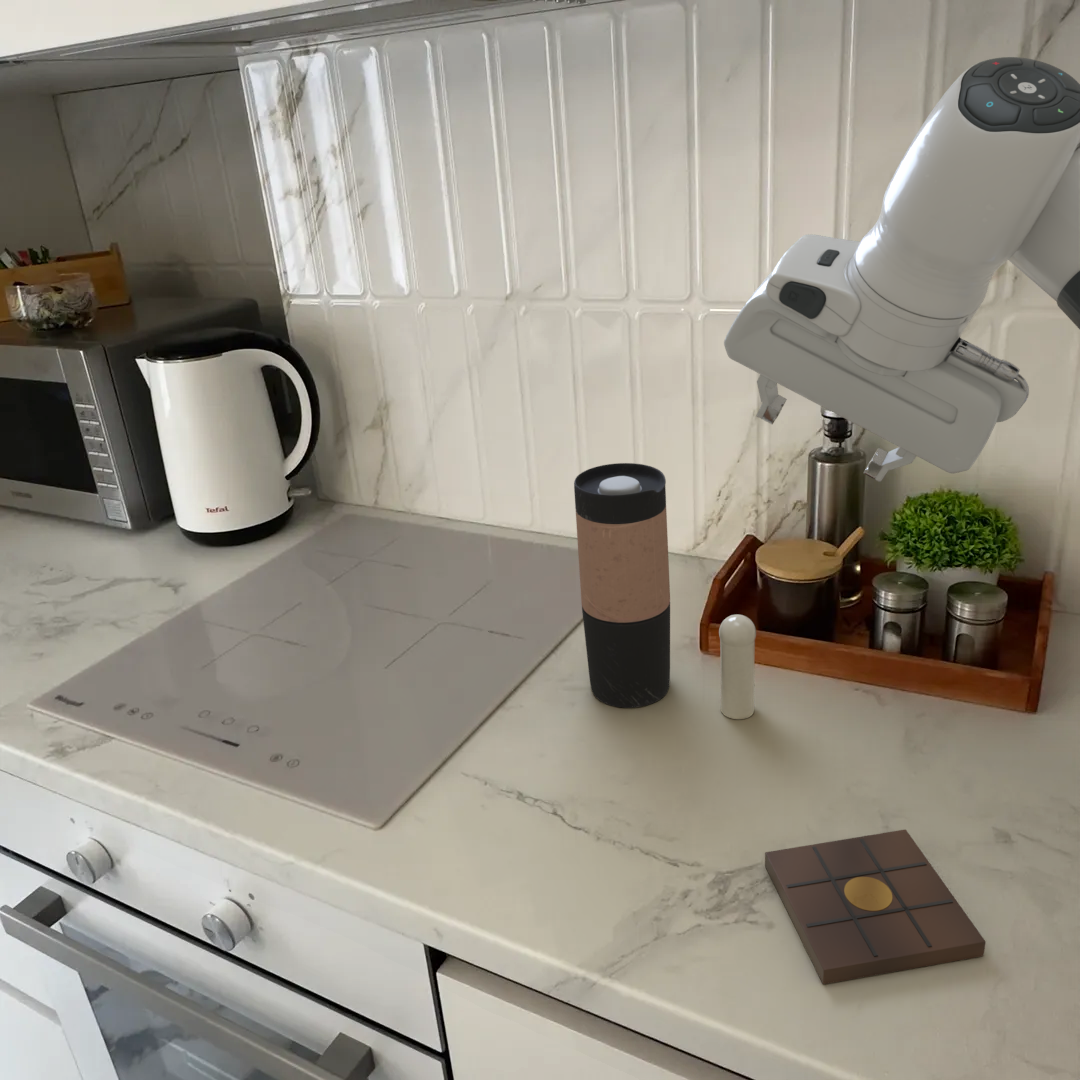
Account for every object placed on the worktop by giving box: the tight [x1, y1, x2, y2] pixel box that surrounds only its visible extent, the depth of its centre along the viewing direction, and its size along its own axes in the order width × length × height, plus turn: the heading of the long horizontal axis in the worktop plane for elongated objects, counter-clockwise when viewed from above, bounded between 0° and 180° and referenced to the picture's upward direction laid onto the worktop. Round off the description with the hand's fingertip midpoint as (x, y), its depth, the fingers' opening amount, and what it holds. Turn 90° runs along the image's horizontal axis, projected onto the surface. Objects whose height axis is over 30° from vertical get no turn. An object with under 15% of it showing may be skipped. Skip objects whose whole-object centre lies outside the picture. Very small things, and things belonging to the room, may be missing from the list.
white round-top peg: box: [718, 613, 757, 720], centre depth 81 cm, size 3×3×9 cm
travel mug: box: [573, 462, 671, 709], centre depth 84 cm, size 8×8×20 cm
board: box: [764, 829, 986, 985], centre depth 62 cm, size 10×10×1 cm
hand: (819, 444), depth 78 cm, fingers open, 8 cm apart
